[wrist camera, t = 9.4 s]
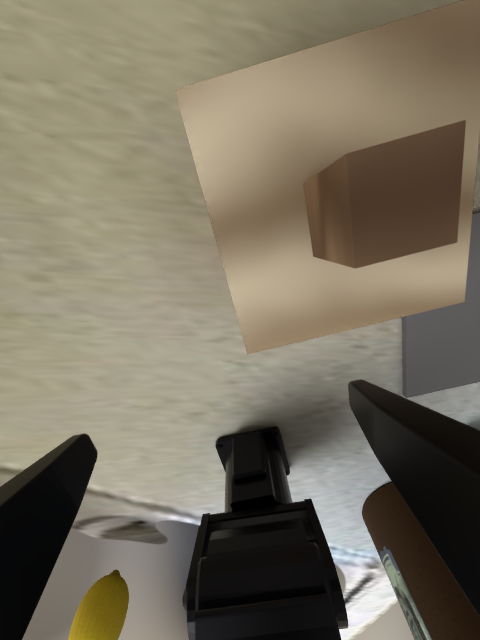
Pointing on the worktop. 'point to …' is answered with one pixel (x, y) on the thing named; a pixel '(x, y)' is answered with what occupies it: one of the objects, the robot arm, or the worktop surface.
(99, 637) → the lemon
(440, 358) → the mat
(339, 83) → the lid
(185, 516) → the worktop surface
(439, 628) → the olive oil
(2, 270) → the worktop surface
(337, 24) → the worktop surface
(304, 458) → the worktop surface
